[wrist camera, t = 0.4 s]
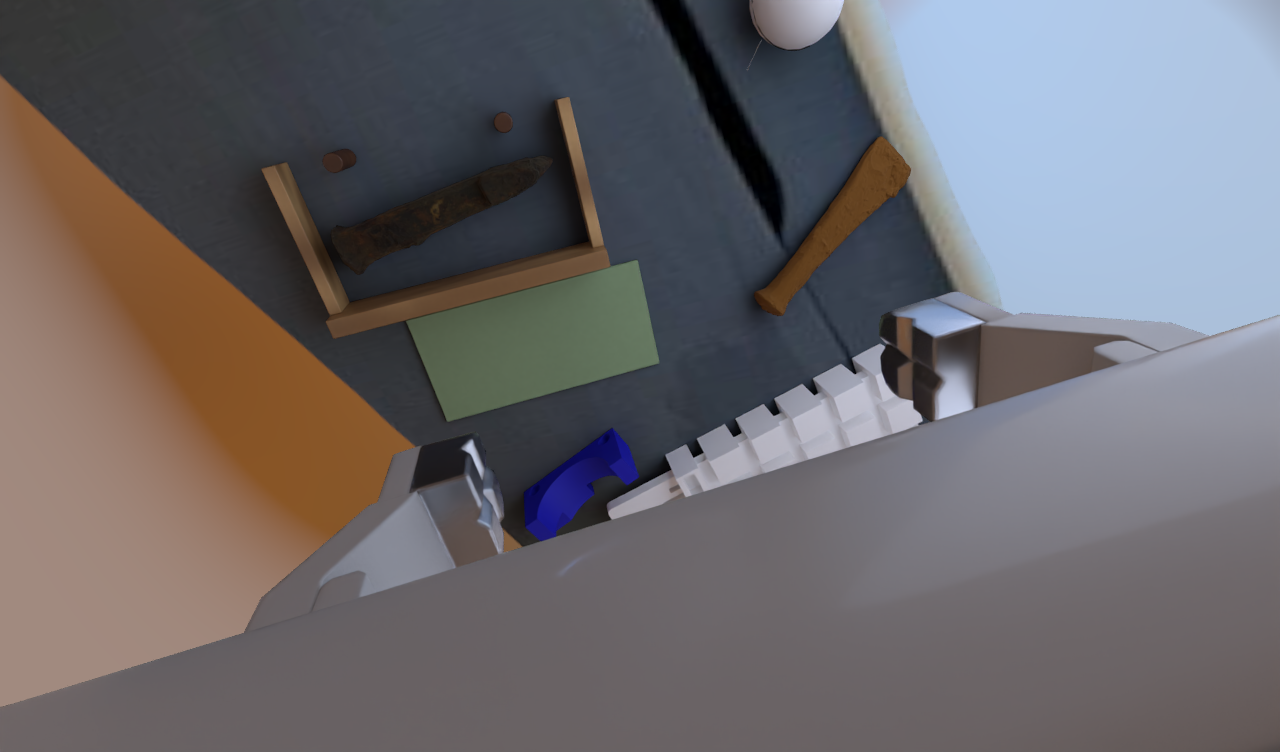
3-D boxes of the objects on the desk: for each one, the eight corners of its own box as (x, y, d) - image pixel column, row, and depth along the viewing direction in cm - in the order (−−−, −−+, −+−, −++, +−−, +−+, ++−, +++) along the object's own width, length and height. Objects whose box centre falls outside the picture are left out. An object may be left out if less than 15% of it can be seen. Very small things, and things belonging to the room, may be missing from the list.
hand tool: (360, 268, 52) (348, 283, 48) (335, 225, 51) (320, 236, 47) (562, 189, 53) (567, 197, 49) (544, 143, 51) (548, 147, 47)
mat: (406, 319, 55) (405, 320, 55) (636, 259, 57) (637, 260, 57) (447, 420, 60) (447, 422, 60) (658, 361, 62) (659, 363, 62)
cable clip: (550, 516, 67) (553, 552, 62) (523, 492, 65) (525, 527, 60) (636, 455, 66) (647, 486, 61) (612, 427, 64) (621, 457, 59)
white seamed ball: (785, -73, 48) (828, -101, 42) (834, 7, 51) (882, -7, 45) (694, 23, 50) (722, 12, 43) (747, 95, 53) (781, 95, 46)
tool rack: (274, 165, 48) (253, 171, 44) (565, 97, 50) (570, 96, 46) (346, 321, 54) (333, 339, 50) (603, 255, 56) (610, 267, 52)
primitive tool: (878, 133, 56) (900, 135, 53) (912, 171, 59) (934, 175, 56) (744, 294, 61) (757, 305, 58) (781, 323, 63) (795, 335, 60)
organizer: (931, 453, 68) (656, 594, 69) (906, 432, 72) (647, 565, 73) (905, 360, 62) (605, 516, 63) (879, 343, 66) (599, 489, 67)
